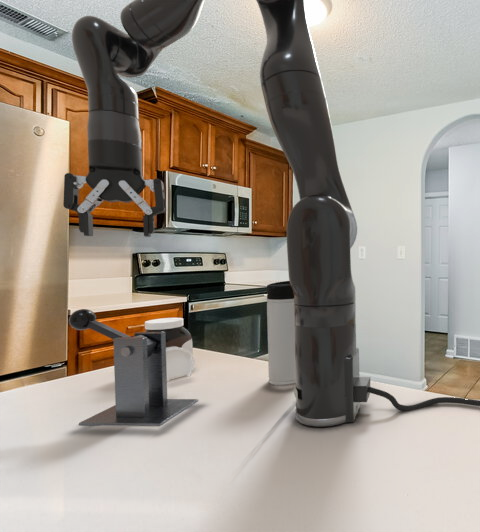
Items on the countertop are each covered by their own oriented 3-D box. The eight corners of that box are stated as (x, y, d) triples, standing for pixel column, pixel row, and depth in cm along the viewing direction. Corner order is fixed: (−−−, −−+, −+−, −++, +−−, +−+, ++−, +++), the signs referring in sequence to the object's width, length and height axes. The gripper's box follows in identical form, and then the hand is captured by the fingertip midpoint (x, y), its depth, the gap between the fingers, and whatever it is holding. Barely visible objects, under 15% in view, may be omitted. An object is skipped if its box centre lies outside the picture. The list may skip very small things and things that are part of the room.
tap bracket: (78, 431, 53) (75, 342, 52) (128, 406, 62) (125, 329, 61) (160, 432, 52) (157, 341, 52) (198, 406, 61) (196, 329, 61)
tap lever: (59, 326, 55) (67, 307, 55) (79, 322, 59) (86, 304, 59) (137, 363, 55) (145, 343, 55) (152, 357, 58) (160, 339, 58)
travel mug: (311, 382, 72) (309, 279, 72) (284, 393, 67) (281, 281, 66) (289, 377, 75) (287, 278, 75) (261, 387, 70) (259, 281, 69)
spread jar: (167, 368, 83) (166, 316, 83) (214, 369, 82) (213, 316, 81) (120, 386, 71) (118, 326, 71) (173, 389, 70) (172, 327, 69)
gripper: (53, 132, 59) (57, 234, 60) (159, 142, 65) (162, 235, 65) (72, 145, 66) (76, 237, 66) (166, 153, 72) (169, 237, 72)
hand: (118, 236), depth 66 cm, fingers open, 8 cm apart
